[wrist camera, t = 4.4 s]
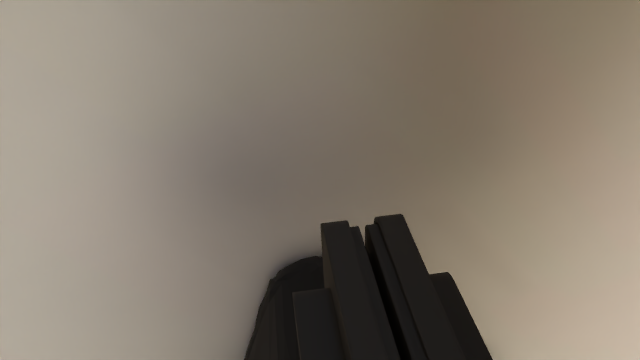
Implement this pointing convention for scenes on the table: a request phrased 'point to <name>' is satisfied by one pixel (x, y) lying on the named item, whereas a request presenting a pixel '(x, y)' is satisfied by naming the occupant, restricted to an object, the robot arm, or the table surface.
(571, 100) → the table surface
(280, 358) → the film camera
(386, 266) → the robot arm
